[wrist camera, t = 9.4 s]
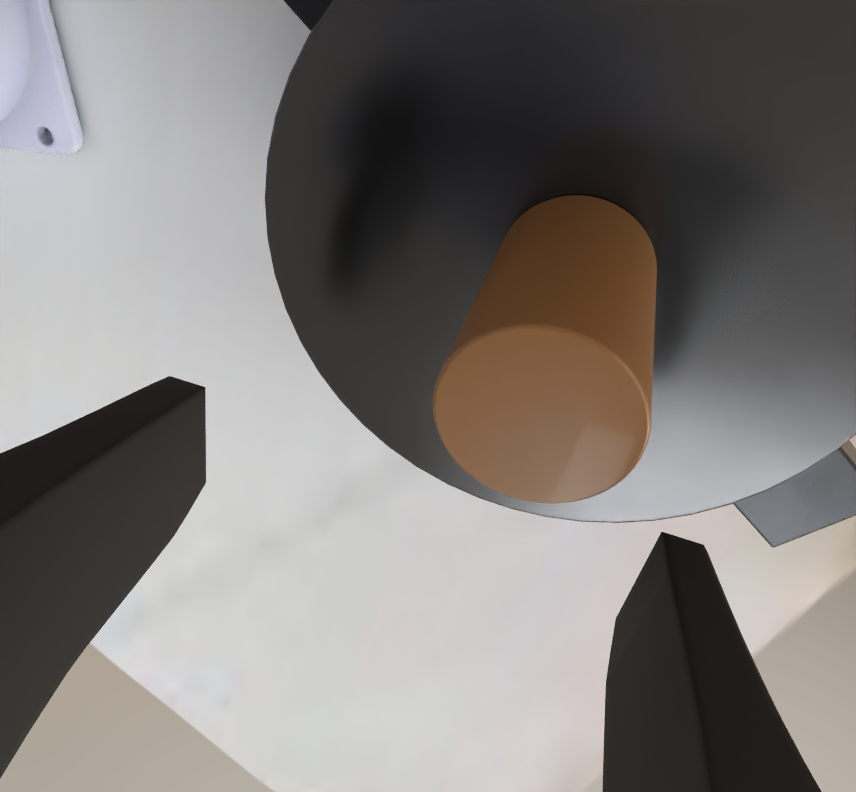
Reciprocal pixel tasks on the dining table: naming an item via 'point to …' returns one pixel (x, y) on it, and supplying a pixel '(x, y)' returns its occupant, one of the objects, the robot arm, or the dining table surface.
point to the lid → (578, 242)
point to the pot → (782, 504)
